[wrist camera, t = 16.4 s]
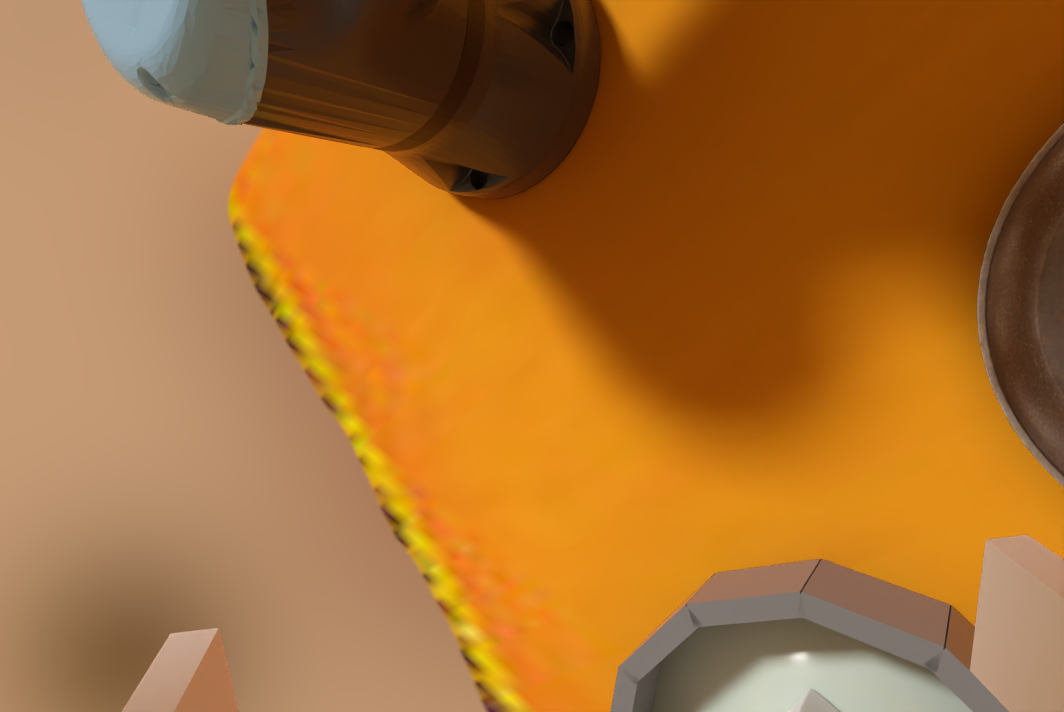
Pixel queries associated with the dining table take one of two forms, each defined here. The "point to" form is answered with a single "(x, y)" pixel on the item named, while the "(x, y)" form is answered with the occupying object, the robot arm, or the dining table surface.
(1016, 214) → the plant saucer
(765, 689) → the bowl
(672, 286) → the dining table surface
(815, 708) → the milk carton
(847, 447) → the dining table surface
